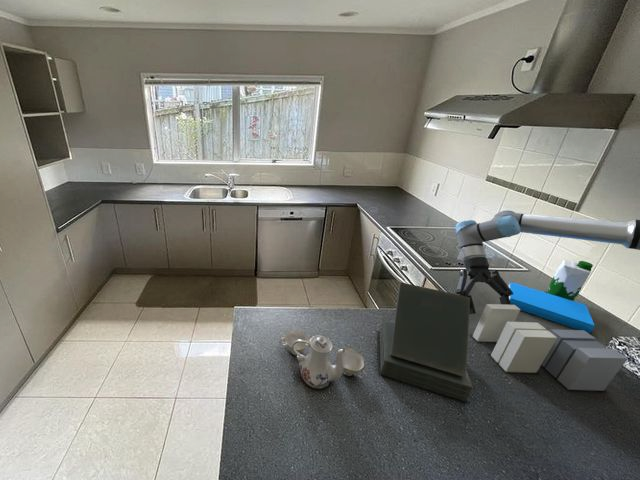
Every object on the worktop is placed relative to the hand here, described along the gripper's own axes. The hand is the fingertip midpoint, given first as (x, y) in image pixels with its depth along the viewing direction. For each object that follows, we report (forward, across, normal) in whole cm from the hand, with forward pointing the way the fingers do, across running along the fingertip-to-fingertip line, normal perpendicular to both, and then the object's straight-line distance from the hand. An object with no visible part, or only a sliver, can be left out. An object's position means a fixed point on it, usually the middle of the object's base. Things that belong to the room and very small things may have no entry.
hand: (490, 314), depth 103 cm
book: (-4, -38, -17) cm, 42 cm away
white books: (+16, 0, +4) cm, 17 cm away
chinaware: (+19, +67, +6) cm, 70 cm away
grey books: (+18, -15, +6) cm, 24 cm away
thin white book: (+8, 0, -4) cm, 9 cm away
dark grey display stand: (+17, +33, +4) cm, 37 cm away
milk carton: (-10, -52, -22) cm, 57 cm away
